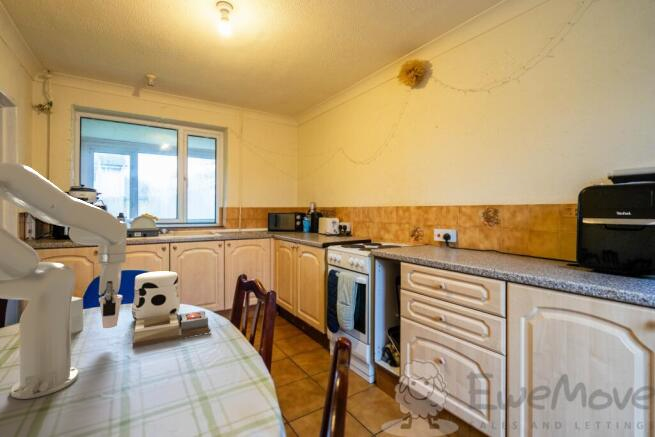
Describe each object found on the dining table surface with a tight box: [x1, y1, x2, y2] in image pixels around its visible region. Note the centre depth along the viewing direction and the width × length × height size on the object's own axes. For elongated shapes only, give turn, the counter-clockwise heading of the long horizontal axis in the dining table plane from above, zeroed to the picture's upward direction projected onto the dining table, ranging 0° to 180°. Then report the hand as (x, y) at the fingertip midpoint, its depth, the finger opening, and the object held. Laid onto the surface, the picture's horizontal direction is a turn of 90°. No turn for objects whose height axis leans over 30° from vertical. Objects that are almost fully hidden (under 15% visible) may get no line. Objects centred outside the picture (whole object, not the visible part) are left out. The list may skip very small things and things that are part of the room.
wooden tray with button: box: [132, 310, 211, 349], centre depth 108 cm, size 14×24×5 cm, turn 121°
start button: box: [186, 314, 201, 320], centre depth 112 cm, size 5×5×3 cm
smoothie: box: [98, 292, 123, 329], centre depth 97 cm, size 6×6×14 cm
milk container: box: [131, 270, 181, 321], centre depth 122 cm, size 17×17×18 cm
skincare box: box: [71, 296, 84, 335], centre depth 107 cm, size 6×4×12 cm
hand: (110, 312), depth 97 cm, fingers closed on smoothie, 6 cm apart
